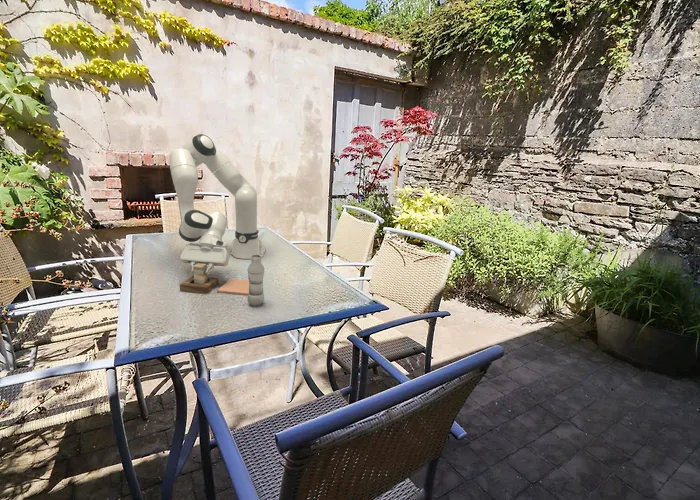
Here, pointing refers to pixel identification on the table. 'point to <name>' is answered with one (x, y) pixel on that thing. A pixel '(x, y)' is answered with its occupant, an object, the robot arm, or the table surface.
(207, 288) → the walnut collar holder
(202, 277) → the block
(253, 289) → the plastic bottle
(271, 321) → the table surface
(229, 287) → the terracotta tile
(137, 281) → the table surface
